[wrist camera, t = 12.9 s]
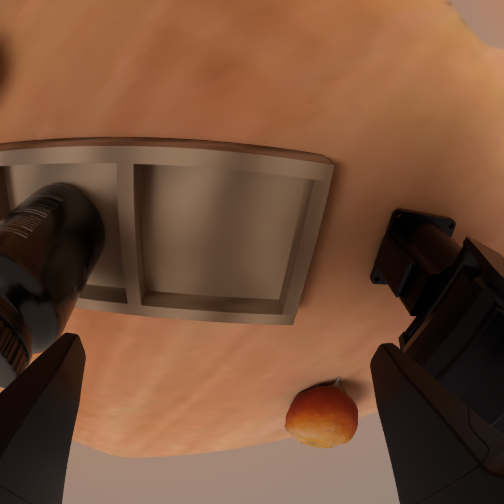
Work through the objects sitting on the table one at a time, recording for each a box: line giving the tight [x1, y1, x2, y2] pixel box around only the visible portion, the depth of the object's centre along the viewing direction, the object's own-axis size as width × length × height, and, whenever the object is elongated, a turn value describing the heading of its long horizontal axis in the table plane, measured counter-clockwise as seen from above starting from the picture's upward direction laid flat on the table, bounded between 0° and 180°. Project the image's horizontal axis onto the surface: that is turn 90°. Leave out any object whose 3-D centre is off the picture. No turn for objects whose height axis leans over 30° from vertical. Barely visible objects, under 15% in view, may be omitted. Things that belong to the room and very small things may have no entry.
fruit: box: [285, 377, 358, 448], centre depth 30 cm, size 8×8×8 cm
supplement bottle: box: [0, 184, 105, 388], centre depth 14 cm, size 7×7×12 cm
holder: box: [0, 137, 335, 325], centre depth 19 cm, size 23×12×2 cm, turn 83°
